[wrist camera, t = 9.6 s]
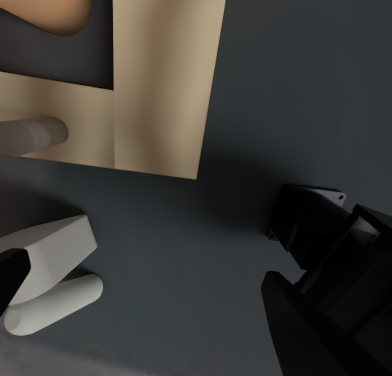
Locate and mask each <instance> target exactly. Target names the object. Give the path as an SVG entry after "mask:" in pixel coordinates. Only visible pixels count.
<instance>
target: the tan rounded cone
mask: <svg viewBox="0 0 392 376" xmlns="http://www.w3.org/2000/svg"><path fill="white" fill-rule="evenodd" d="M92 4H93V0H0V8H2V9H4V10H6V11H8V12H10V13H12V14H14V15H16V16H18V17H20V18H22V19H24V20H26V21H28V22H30V23H32V24H34V25H35V26H37V27H39V28H41V29H43V30H45V31H47V32H49V33H52V34H54V35H58V36H71V35H74V34H76V33H78V32H80V31H81V30H82V29H83V28H84V27H85V26H86V24H87V22H88V21H89V18H90V16H91V12H92Z"/></svg>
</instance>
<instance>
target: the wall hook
mask: <svg viewBox="0 0 392 376" xmlns="http://www.w3.org/2000/svg"><path fill="white" fill-rule="evenodd" d="M11 248H24V249H26V250H27V251H28V254H29V258H30V262H31V270H30V272H29V274H28V276H27V277H26V279H25V280H24V282H23V283H22V285H21V287H20V288H19V290H18V291H17V293H16V294H15V296H14V297H13V299H12V301H11V302H10V304H9V305H11V306H10V308H9V309H8V311H7V312H6V315H5V318H4V325H5V328H6V329H7V331H9V332H10V333H12V334H14V335H28V334H31V333H34V332H36V331H38V330H40V329H42V328H44V327H46V326H48V325H50V324H52V323H54V322H56V321H57V320H59V319H61V318H63V317H65V316H67V315H69V314H71V313H73V312H75V311H76V310H78V309H80V308H82V307H84V306H86V305H88V304H90V303H92V302H94V301H95V300H97V299H98V298H99V297H100V295H101V293H102V290H103V284H102V281H101V279H100V277H99V276H97V275H95V274H89V275H86V276H82V277H79V278H76V279H72V280H69V281H66V282H62V283H59V284H57V283H58V282H59V281H60V280H62V279H63V278H64V277H65V276H66V275H67V274H68V273H69V272H70V271H72V270H73V269H74V268H75V267H76V266H77V265H78V264H79V263H80V262H82V261H83V260H84V259H85V258H86V257H87V256H88V255H89V254H90V253H92V252H93V251H94V250H95V249H96V248H97V243H96V240H95V237H94V235H93V232H92V229H91V226H90V223H89V221H88V218H87V215H79V216H74V217H70V218H66V219H62V220H58V221H54V222H50V223H45V224H41V225H37V226H33V227H29V228H26V229H23V230H20V231H17V232H14V233H11V234H9V235H6V236H4V237H2V238H0V253H1V252H3V251H6V250H8V249H11ZM9 305H8V306H9Z"/></svg>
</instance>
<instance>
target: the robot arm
mask: <svg viewBox="0 0 392 376" xmlns="http://www.w3.org/2000/svg"><path fill="white" fill-rule="evenodd" d="M288 188H290V189H289V191H287V189H288ZM340 195H341V196H340ZM339 196H340V197H339ZM338 197H339V198H338ZM345 198H346V194H345V193H343V192H341V191H334V190H327V189H320V188H312V187H305V186H298V185H290V184H287V185H285V186H283V188H282V191H281V194H280V196H279V199H278V202H277V204H276V205H275V207H274V210H273V213H272V216H271V219H270V221H269V228H268V230H267V233H266V236H267V238H268V239H269V240H273V241H280V243H281V244H282V246H283V247H284V249H285V250H286V251H287V252H290V253H291V255H292V256H293V258H294V259H295V261H296V262H297V264H298V265H299V267H300V268H301V269H303V270H307V271H306V272H305V273H304V274H303V276H302V277H301V278H300V280H299V281H298V282H296V283H295V284H294V285H293V284H291V283H290V282H289V281H288V280H287V279H286V278H285V277H284V276H282V275H281V274H280V273H279V272H277V271H267V273H266V275H265V277H264V280H263V282H262V285H261V293H262V297H263V302H264V307H265V311H266V316H267V321H268V326H269V330H270V334H271V338H272V341H273V344H274V348H275V351H276V354H277V357H278V361H279V364H280V367H281V370H282V373H283V376H392V217H391V216H388V215H386V214H383V213H380V212H378V211H375V210H373V209H370V208H367V207H365V206H362V205H359V204H356V205H355V207H354V208H353V209H352V210H353V212H352V213H351V214H350V213H349V212H347V211H346V210H344V209H343V208H341V206H342V204H343V202H344V200H345ZM270 235H272V236H270ZM30 270H31V262H30V258H29V254H28V251H27V250H26V249H24V248H11V249H8V250H6V251H3V252H1V253H0V317H1V316H2V314H3V313H4V311H5V310H6V308H7V307H8V305H9V304H10V302H11V301H12V299H13V297H14V296H15V294H16V293H17V291H18V290H19V288H20V287H21V285H22V283H23V282H24V280H25V279H26V277H27V276H28V274H29V272H30Z"/></svg>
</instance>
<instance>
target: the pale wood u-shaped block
mask: <svg viewBox="0 0 392 376" xmlns="http://www.w3.org/2000/svg"><path fill="white" fill-rule="evenodd" d="M224 6H225V0H113V47H114V91H112V90H106V89H100V88H94V87H88V86H82V85H76V84H70V83H64V82H58V81H52V80H46V79H40V78H34V77H28V76H22V75H16V74H11V73H5V72H0V154H3V155H5V156H8V157H17V156H22V157H30V158H37V159H45V160H52V161H60V162H68V163H75V164H83V165H90V166H98V167H105V168H113V169H121V170H128V171H136V172H143V173H151V174H158V175H166V176H174V177H181V178H189V179H196V177H197V171H198V165H199V159H200V153H201V147H202V141H203V134H204V128H205V122H206V116H207V110H208V104H209V98H210V92H211V86H212V80H213V73H214V67H215V61H216V55H217V49H218V43H219V37H220V31H221V25H222V19H223V12H224Z"/></svg>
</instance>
